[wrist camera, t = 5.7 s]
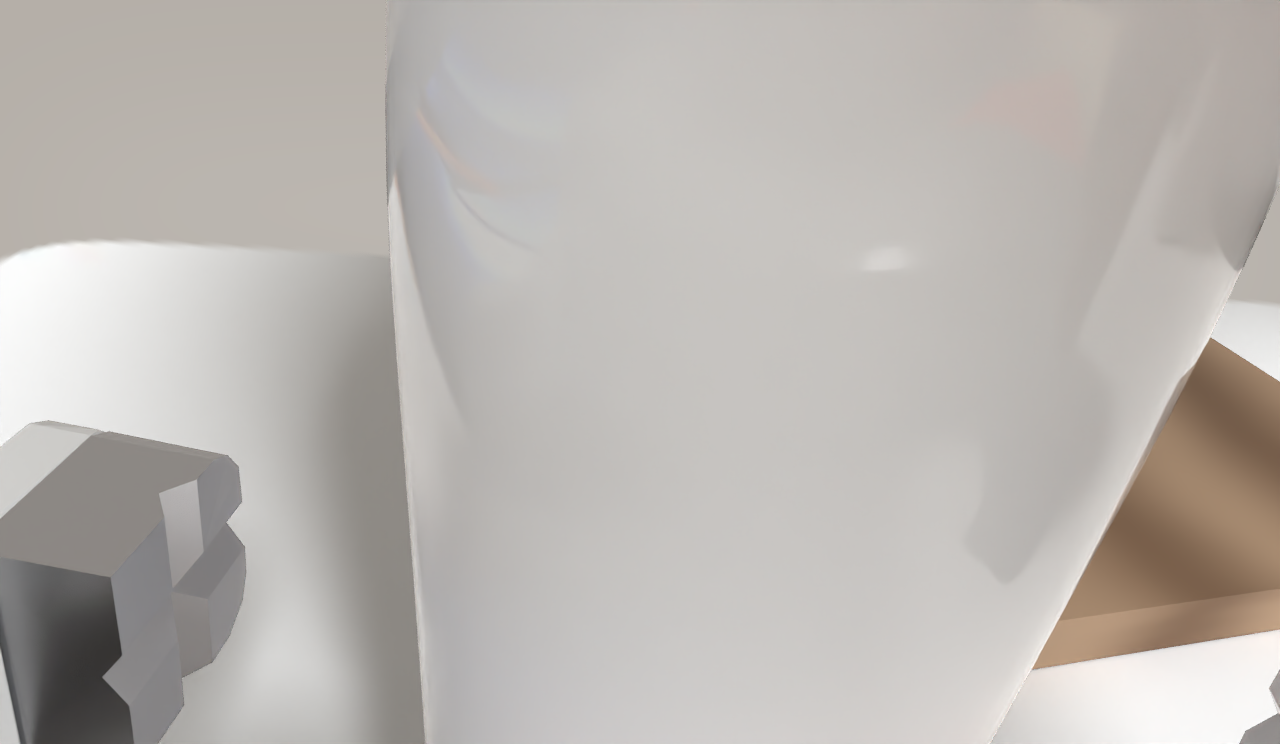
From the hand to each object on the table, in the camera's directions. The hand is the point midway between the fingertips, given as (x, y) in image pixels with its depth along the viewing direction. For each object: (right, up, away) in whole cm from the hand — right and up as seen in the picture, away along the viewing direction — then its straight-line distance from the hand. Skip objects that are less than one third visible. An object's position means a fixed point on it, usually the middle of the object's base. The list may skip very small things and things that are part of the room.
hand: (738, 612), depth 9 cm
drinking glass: (-1, -6, +6) cm, 9 cm away
